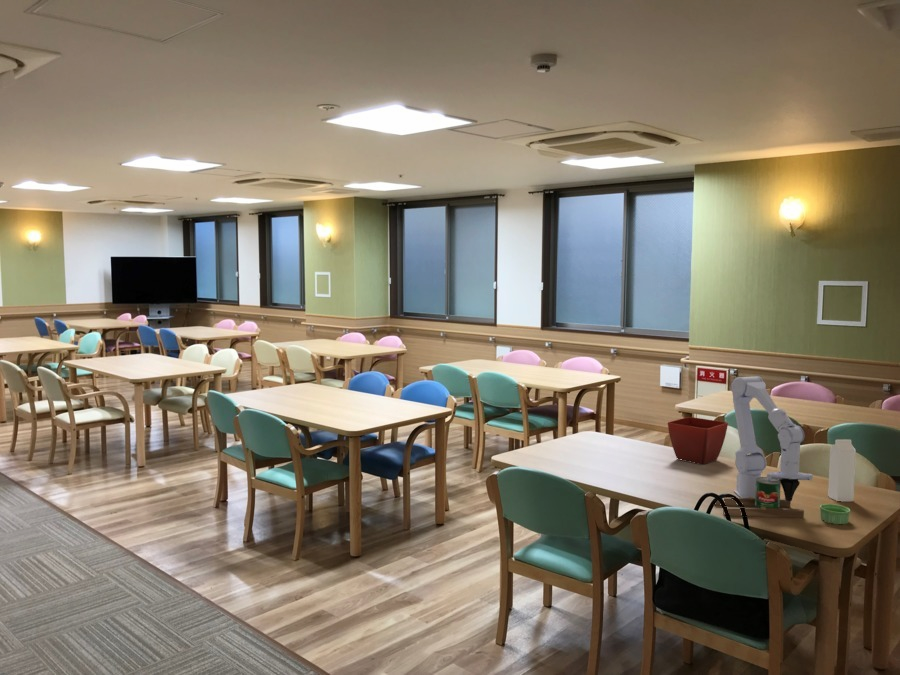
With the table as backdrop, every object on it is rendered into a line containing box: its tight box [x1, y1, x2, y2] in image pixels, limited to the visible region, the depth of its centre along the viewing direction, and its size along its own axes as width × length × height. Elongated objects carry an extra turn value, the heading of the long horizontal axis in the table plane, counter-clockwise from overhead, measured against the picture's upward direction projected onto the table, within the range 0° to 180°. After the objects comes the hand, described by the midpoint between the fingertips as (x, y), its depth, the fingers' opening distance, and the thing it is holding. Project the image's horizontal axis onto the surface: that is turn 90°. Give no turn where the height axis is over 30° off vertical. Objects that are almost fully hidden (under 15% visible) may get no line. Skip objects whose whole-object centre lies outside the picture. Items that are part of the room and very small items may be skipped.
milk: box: [827, 438, 857, 502], centre depth 261 cm, size 6×6×22 cm
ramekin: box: [819, 503, 851, 525], centre depth 239 cm, size 9×9×4 cm
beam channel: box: [714, 497, 805, 518], centre depth 249 cm, size 13×26×3 cm, turn 86°
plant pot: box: [667, 416, 729, 465], centre depth 316 cm, size 19×19×17 cm
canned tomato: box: [754, 476, 782, 508], centre depth 248 cm, size 8×8×11 cm
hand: (788, 500), depth 248 cm, fingers closed
